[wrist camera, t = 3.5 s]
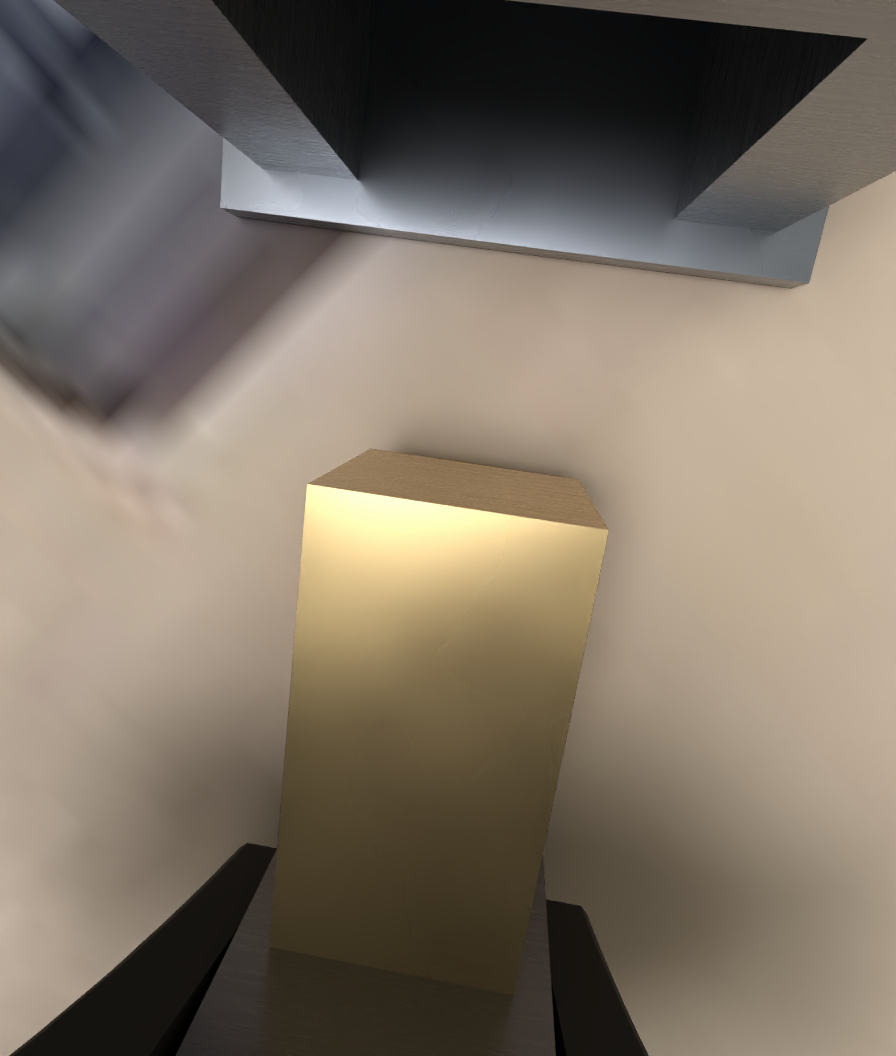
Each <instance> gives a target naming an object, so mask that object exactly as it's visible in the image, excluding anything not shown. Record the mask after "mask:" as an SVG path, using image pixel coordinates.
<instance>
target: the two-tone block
mask: <svg viewBox="0 0 896 1056" xmlns="http://www.w3.org/2000/svg"><path fill="white" fill-rule="evenodd" d="M608 531H609V530H608V528H607V527H606V525H605V523H604V522H603V520H602V518H601V517H600V515H599V513H598V512H597V510H596V508H595V507H594V505H593V504H592V502H591V500H590V499H589V497H588V495H587V494H586V492H585V490H584V489H583V487H582V485H581V484H580V482H579V480H577V479H571V478H564V477H557V476H551V475H544V474H537V473H531V472H524V471H517V470H510V469H504V468H497V467H490V466H484V465H477V464H470V463H463V462H457V461H450V460H443V459H437V458H430V457H423V456H417V455H410V454H403V453H396V452H390V451H383V450H376V449H369V450H367V451H366V452H364V453H362V454H360V455H358V456H357V457H355V458H353V459H351V460H349V461H348V462H346V463H344V464H342V465H340V466H339V467H337V468H335V469H333V470H332V471H330V472H328V473H326V474H324V475H323V476H321V477H319V478H317V479H315V480H314V481H312V482H310V483H308V484H307V493H306V505H305V517H304V529H303V541H302V553H301V566H300V578H299V590H298V602H297V614H296V626H295V639H294V651H293V663H292V675H291V687H290V699H289V711H288V724H287V736H286V748H285V760H284V772H283V784H282V796H281V809H280V821H279V833H278V845H277V850H276V852H275V854H274V856H273V858H272V860H271V862H270V864H269V866H268V868H267V870H266V872H265V874H264V876H263V878H262V880H261V882H260V884H259V887H258V889H257V891H256V893H255V895H254V897H253V899H252V901H251V903H250V905H249V907H248V909H247V911H246V913H245V915H244V917H243V919H242V921H241V923H240V925H239V927H238V929H237V931H236V933H235V936H234V938H233V940H232V942H231V944H230V946H229V948H228V950H227V952H226V954H225V956H224V958H223V960H222V962H221V964H220V966H219V968H218V970H217V972H216V974H215V976H214V978H213V980H212V982H211V985H210V987H209V989H208V991H207V993H206V995H205V997H204V999H203V1001H202V1003H201V1005H200V1007H199V1009H198V1011H197V1013H196V1015H195V1017H194V1019H193V1021H192V1023H191V1025H190V1027H189V1029H188V1031H187V1033H186V1036H185V1038H184V1040H183V1042H182V1044H181V1046H180V1048H179V1050H178V1052H177V1054H176V1056H556V1051H555V1035H554V1020H553V1004H552V989H551V973H550V958H549V942H548V927H547V911H546V896H545V880H544V865H543V850H544V845H545V840H546V835H547V830H548V825H549V820H550V815H551V811H552V806H553V801H554V796H555V791H556V786H557V781H558V776H559V771H560V766H561V762H562V757H563V752H564V747H565V742H566V737H567V732H568V727H569V722H570V718H571V713H572V708H573V703H574V698H575V693H576V688H577V683H578V678H579V673H580V669H581V664H582V659H583V654H584V649H585V644H586V639H587V634H588V629H589V624H590V620H591V615H592V610H593V605H594V600H595V595H596V590H597V585H598V580H599V576H600V571H601V566H602V561H603V556H604V551H605V546H606V541H607V536H608Z"/></svg>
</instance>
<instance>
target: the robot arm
mask: <svg viewBox="0 0 896 1056" xmlns="http://www.w3.org/2000/svg"><path fill="white" fill-rule="evenodd" d="M276 850H277V848H271V847H266V846H261V845H255V844H250V843H247V844H245V845H244V846H242V847H241V848H239V849H238V850H237V851H236V852H235V853H234V854H233V855H232V856H231V857H230V858H229V859H228V860H227V861H226V862H225V863H224V864H223V866H222V867H221V868H220V869H219V870H218V871H217V872H216V873H215V874H214V875H213V876H212V877H211V878H210V879H209V880H208V881H207V882H206V883H205V884H204V885H203V886H202V887H201V888H200V889H199V890H198V891H196V892H195V893H194V894H193V895H192V896H191V897H190V898H189V899H188V900H187V901H186V902H185V903H184V904H183V905H182V906H181V907H180V908H179V909H178V910H177V911H176V912H175V913H174V914H173V915H172V916H171V917H170V918H169V919H167V920H166V921H165V922H164V923H163V924H162V925H161V926H160V927H159V928H158V929H157V930H156V931H154V932H153V933H152V934H151V935H150V936H149V937H148V938H147V939H146V940H145V941H143V942H142V943H141V944H140V945H139V946H138V947H137V948H136V949H135V950H134V951H133V952H131V953H130V954H129V955H128V956H127V957H126V958H125V959H124V960H123V961H122V962H121V963H119V964H118V965H117V966H116V967H115V968H114V969H113V970H112V971H110V972H109V973H108V974H107V975H106V976H105V977H104V978H102V979H101V980H100V981H99V982H98V983H97V984H95V985H94V986H93V987H92V988H91V989H89V990H88V991H87V992H86V993H85V994H84V995H82V996H81V997H80V998H79V999H78V1000H76V1001H75V1002H74V1003H73V1004H72V1005H70V1006H69V1007H68V1008H67V1009H66V1010H65V1011H63V1012H62V1013H61V1014H60V1015H59V1016H57V1017H56V1018H55V1019H54V1020H53V1021H51V1022H50V1023H49V1024H48V1025H47V1026H46V1027H44V1028H43V1029H42V1030H41V1031H40V1032H38V1033H37V1034H36V1035H35V1036H33V1037H32V1038H31V1039H30V1040H28V1041H27V1042H26V1043H25V1044H23V1045H22V1046H21V1047H20V1048H18V1049H17V1050H16V1051H15V1052H13V1053H12V1054H11V1055H10V1056H176V1054H177V1052H178V1050H179V1048H180V1046H181V1044H182V1042H183V1040H184V1038H185V1036H186V1033H187V1031H188V1029H189V1027H190V1025H191V1023H192V1021H193V1019H194V1017H195V1015H196V1013H197V1011H198V1009H199V1007H200V1005H201V1003H202V1001H203V999H204V997H205V995H206V993H207V991H208V989H209V987H210V985H211V982H212V980H213V978H214V976H215V974H216V972H217V970H218V968H219V966H220V964H221V962H222V960H223V958H224V956H225V954H226V952H227V950H228V948H229V946H230V944H231V942H232V940H233V938H234V936H235V933H236V931H237V929H238V927H239V925H240V923H241V921H242V919H243V917H244V915H245V913H246V911H247V909H248V907H249V905H250V903H251V901H252V899H253V897H254V895H255V893H256V891H257V889H258V887H259V884H260V882H261V880H262V878H263V876H264V874H265V872H266V870H267V868H268V866H269V864H270V862H271V860H272V858H273V856H274V854H275V852H276ZM546 911H547V927H548V942H549V958H550V973H551V989H552V1004H553V1020H554V1035H555V1051H556V1056H649V1055H648V1053H647V1051H646V1049H645V1047H644V1045H643V1043H642V1041H641V1039H640V1037H639V1035H638V1033H637V1031H636V1028H635V1026H634V1024H633V1022H632V1020H631V1018H630V1016H629V1013H628V1011H627V1009H626V1007H625V1005H624V1002H623V1000H622V998H621V996H620V993H619V991H618V989H617V987H616V984H615V982H614V980H613V977H612V975H611V973H610V970H609V968H608V966H607V963H606V961H605V959H604V956H603V954H602V951H601V949H600V946H599V944H598V941H597V939H596V936H595V934H594V931H593V929H592V926H591V923H590V921H589V918H588V915H587V914H586V912H585V911H584V910H583V908H582V907H581V906H578V905H572V904H567V903H562V902H556V901H551V900H546Z"/></svg>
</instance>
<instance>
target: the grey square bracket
mask: <svg viewBox="0 0 896 1056" xmlns="http://www.w3.org/2000/svg"><path fill="white" fill-rule="evenodd" d="M54 1H55V2H56V3H57V4H59V5H60V6H61V7H62V8H64V9H65V10H66V11H67V12H69V13H70V14H71V15H72V16H74V17H75V18H76V19H77V20H79V21H80V22H81V23H82V24H84V25H85V26H86V27H87V28H88V29H90V30H91V31H92V32H93V33H95V34H96V35H97V36H98V37H100V38H101V39H102V40H103V41H105V42H106V43H107V44H108V45H110V46H111V47H112V48H113V49H114V50H116V51H117V52H118V53H119V54H121V55H122V56H123V57H124V58H126V59H127V60H128V61H129V62H131V63H132V64H133V65H134V66H136V67H137V68H138V69H139V70H140V71H142V72H143V73H144V74H145V75H147V76H148V77H149V78H150V79H152V80H153V81H154V82H155V83H157V84H158V85H159V86H160V87H162V88H163V89H164V90H165V91H167V92H168V93H169V94H170V95H171V96H173V97H174V98H175V99H176V100H178V101H179V102H180V103H181V104H183V105H184V106H185V107H186V108H188V109H189V110H190V111H191V112H193V113H194V114H195V115H196V116H197V117H199V118H200V119H201V120H202V121H204V122H205V123H206V124H207V125H209V126H210V127H211V128H212V129H214V130H215V131H216V132H217V133H219V134H220V135H221V136H222V137H223V159H222V182H221V205H220V208H222V209H224V210H226V211H227V212H229V213H231V214H233V215H235V216H236V217H243V218H250V219H258V220H266V221H274V222H281V223H289V224H297V225H305V226H312V227H320V228H328V229H336V230H343V231H351V232H359V233H367V234H374V235H382V236H390V237H398V238H405V239H413V240H421V241H429V242H436V243H444V244H452V245H460V246H467V247H475V248H483V249H491V250H498V251H506V252H514V253H522V254H529V255H537V256H545V257H553V258H560V259H568V260H576V261H584V262H591V263H599V264H607V265H615V266H622V267H630V268H638V269H646V270H653V271H661V272H669V273H677V274H684V275H692V276H700V277H708V278H715V279H723V280H731V281H739V282H746V283H754V284H762V285H770V286H777V287H785V288H794V287H797V286H801V285H804V284H808V283H809V281H810V278H811V274H812V270H813V266H814V262H815V258H816V254H817V251H818V247H819V243H820V239H821V235H822V231H823V227H824V223H825V220H826V216H827V212H828V208H829V205H831V204H833V203H835V202H837V201H838V200H840V199H842V198H844V197H846V196H848V195H850V194H852V193H854V192H856V191H858V190H860V189H862V188H864V187H865V186H867V185H869V184H871V183H873V182H875V181H877V180H879V179H881V178H883V177H885V176H887V175H889V174H891V173H892V172H894V171H896V0H54Z"/></svg>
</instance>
